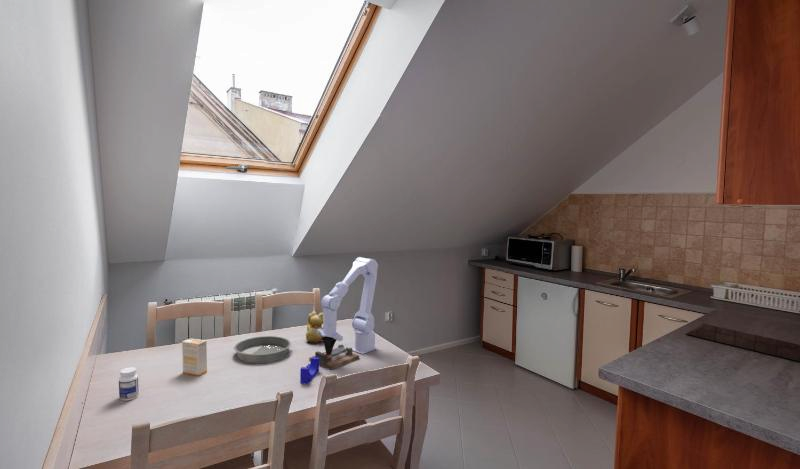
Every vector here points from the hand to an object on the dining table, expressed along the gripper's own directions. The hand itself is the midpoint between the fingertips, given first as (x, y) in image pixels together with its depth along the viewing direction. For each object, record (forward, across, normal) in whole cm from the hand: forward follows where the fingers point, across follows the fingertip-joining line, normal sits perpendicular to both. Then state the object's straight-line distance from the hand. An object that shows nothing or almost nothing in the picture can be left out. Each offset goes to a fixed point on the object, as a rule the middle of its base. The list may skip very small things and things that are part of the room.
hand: (328, 353), depth 184 cm
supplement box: (+5, -31, -44) cm, 54 cm away
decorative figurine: (+4, -24, +12) cm, 27 cm away
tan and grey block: (+1, 0, +4) cm, 4 cm away
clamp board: (+4, 0, +4) cm, 5 cm away
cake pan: (+5, -29, -14) cm, 32 cm away
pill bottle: (+5, -27, -68) cm, 74 cm away
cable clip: (+5, +5, -16) cm, 17 cm away
